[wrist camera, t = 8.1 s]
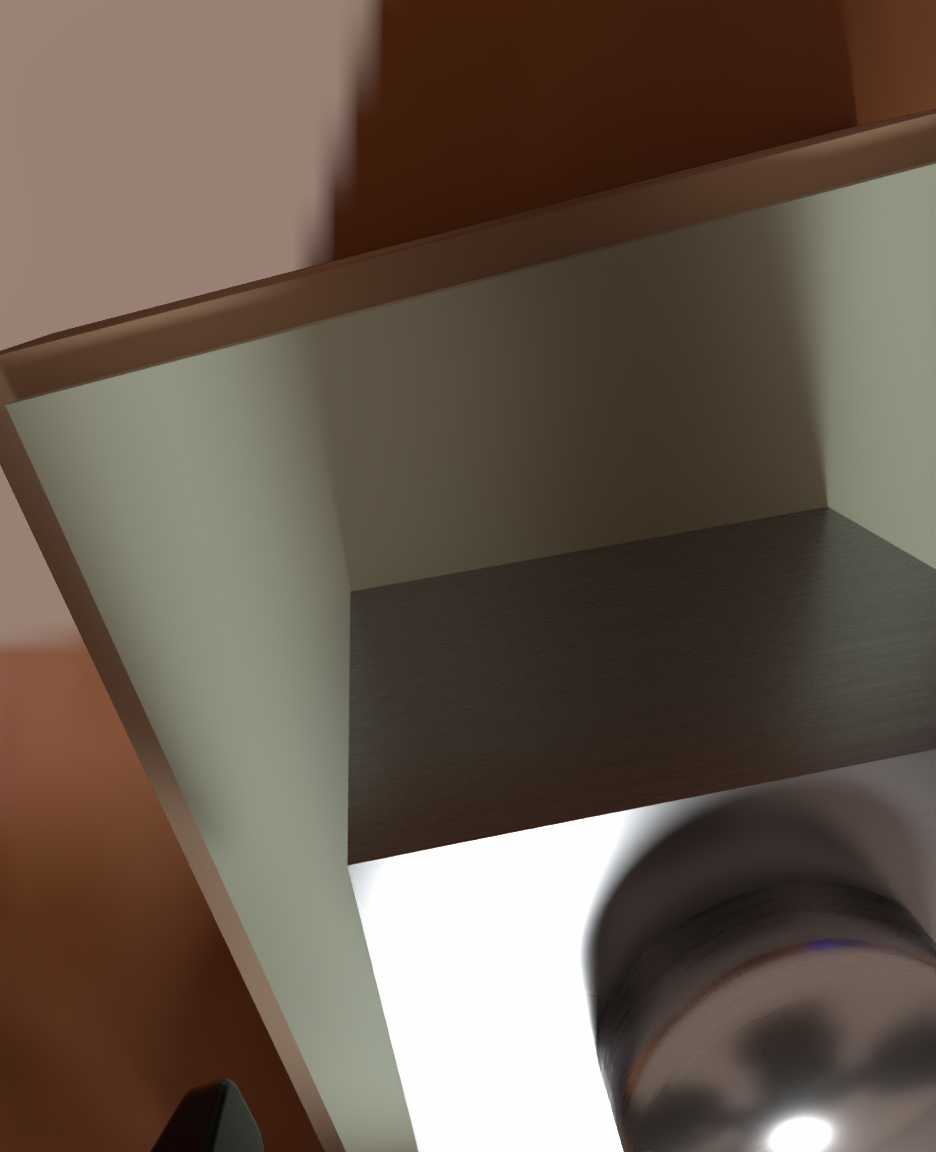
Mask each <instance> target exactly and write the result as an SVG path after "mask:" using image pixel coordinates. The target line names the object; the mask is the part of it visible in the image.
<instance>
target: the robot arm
mask: <svg viewBox="0 0 936 1152" xmlns="http://www.w3.org/2000/svg"><path fill="white" fill-rule="evenodd" d="M151 1152H264V1146H263V1141H262V1137H261V1133H260V1131H259V1128H258V1126H257V1124H256V1122H255V1120H254V1118H253V1116H252V1114H251V1112H250V1110H249V1108H248V1107H247V1105H246V1103H245V1101H244V1099H243V1097H242V1095H241V1093H240V1091H239V1089H238V1087H237V1086H236V1084H235V1083H234V1082H233V1081H231V1080H229V1079H223V1080H219V1081H216V1082H212V1083H208V1084H205V1085H201V1086H198V1087H195V1088H193V1089H191V1090H190V1091H189V1092H188V1093H187V1094H186V1095H185V1096H184V1097H183V1099H182V1100H181V1102H180V1103H179V1105H178V1107H177V1108H176V1110H175V1112H174V1113H173V1115H172V1117H171V1118H170V1120H169V1122H168V1123H167V1125H166V1127H165V1128H164V1130H163V1132H162V1133H161V1135H160V1137H159V1138H158V1140H157V1142H156V1143H155V1145H154V1147H153V1148H152V1150H151Z"/></svg>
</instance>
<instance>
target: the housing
mask: <svg viewBox="0 0 936 1152" xmlns="http://www.w3.org/2000/svg"><path fill="white" fill-rule="evenodd" d="M347 866H348V870H349V874H350V878H351V882H352V886H353V890H354V894H355V898H356V902H357V906H358V910H359V914H360V918H361V922H362V926H363V930H364V934H365V938H366V942H367V946H368V950H369V954H370V958H371V962H372V966H373V970H374V974H375V978H376V982H377V987H378V991H379V995H380V999H381V1003H382V1007H383V1011H384V1015H385V1019H386V1023H387V1027H388V1031H389V1035H390V1039H391V1043H392V1047H393V1051H394V1055H395V1059H396V1063H397V1067H398V1071H399V1075H400V1079H401V1083H402V1087H403V1091H404V1095H405V1099H406V1103H407V1107H408V1111H409V1115H410V1119H411V1123H412V1127H413V1131H414V1135H415V1139H416V1143H417V1147H418V1151H419V1152H936V569H934V568H933V567H931V566H929V565H928V564H926V563H924V562H922V561H921V560H919V559H917V558H916V557H914V556H912V555H910V554H909V553H907V552H905V551H904V550H902V549H900V548H898V547H897V546H895V545H893V544H891V543H890V542H888V541H886V540H885V539H883V538H881V537H879V536H878V535H876V534H874V533H873V532H871V531H869V530H867V529H866V528H864V527H862V526H861V525H859V524H857V523H855V522H854V521H852V520H850V519H848V518H847V517H845V516H843V515H842V514H840V513H838V512H836V511H835V510H833V509H831V508H830V507H823V508H817V509H812V510H806V511H800V512H795V513H789V514H783V515H778V516H772V517H767V518H761V519H755V520H750V521H744V522H739V523H733V524H727V525H722V526H716V527H710V528H705V529H699V530H694V531H688V532H682V533H677V534H671V535H666V536H660V537H654V538H649V539H643V540H637V541H632V542H626V543H621V544H615V545H609V546H604V547H598V548H593V549H587V550H581V551H576V552H570V553H564V554H559V555H553V556H548V557H542V558H536V559H531V560H525V561H520V562H514V563H508V564H503V565H497V566H491V567H486V568H480V569H475V570H469V571H463V572H458V573H452V574H447V575H441V576H435V577H430V578H424V579H418V580H413V581H407V582H402V583H396V584H390V585H385V586H379V587H374V588H368V589H362V590H357V591H351V592H350V670H349V763H348V856H347Z"/></svg>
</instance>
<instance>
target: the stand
mask: <svg viewBox="0 0 936 1152" xmlns="http://www.w3.org/2000/svg"><path fill="white" fill-rule="evenodd" d="M0 465H1V467H2V469H3V471H4V473H5V475H6V477H7V480H8V482H9V484H10V486H11V488H12V490H13V493H14V494H15V497H16V499H17V501H18V503H19V505H20V507H21V509H22V511H23V514H24V516H25V518H26V520H27V522H28V524H29V526H30V529H31V531H32V533H33V535H34V537H35V539H36V541H37V543H38V545H39V547H40V550H41V552H42V554H43V556H44V558H45V560H46V562H47V565H48V566H49V569H50V571H51V573H52V575H53V577H54V579H55V581H56V584H57V585H58V588H59V590H60V592H61V594H62V596H63V598H64V600H65V603H66V605H67V607H68V609H69V611H70V613H71V615H72V617H73V620H74V622H75V624H76V626H77V628H78V630H79V632H80V634H81V637H82V639H83V641H84V643H85V645H86V647H87V649H88V651H89V654H90V656H91V658H92V660H93V662H94V664H95V666H96V668H97V670H98V673H99V675H100V677H101V679H102V681H103V683H104V685H105V687H106V690H107V692H108V694H109V696H110V698H111V700H112V702H113V704H114V706H115V709H116V711H117V713H118V715H119V717H120V719H121V721H122V723H123V726H124V728H125V730H126V732H127V734H128V736H129V738H130V740H131V742H132V745H133V747H134V749H135V751H136V753H137V755H138V757H139V759H140V762H141V764H142V766H143V768H144V770H145V772H146V774H147V776H148V778H149V781H150V783H151V785H152V787H153V789H154V791H155V793H156V795H157V798H158V800H159V802H160V804H161V806H162V808H163V810H164V812H165V815H166V817H167V819H168V821H169V823H170V825H171V827H172V829H173V831H174V834H175V836H176V838H177V840H178V842H179V844H180V846H181V848H182V851H183V853H184V855H185V857H186V859H187V861H188V863H189V865H190V867H191V870H192V872H193V874H194V876H195V878H196V880H197V882H198V884H199V887H200V889H201V891H202V893H203V895H204V897H205V899H206V901H207V903H208V906H209V908H210V910H211V912H212V914H213V916H214V918H215V920H216V923H217V925H218V927H219V929H220V931H221V933H222V935H223V937H224V939H225V942H226V944H227V946H228V948H229V950H230V952H231V954H232V956H233V959H234V961H235V963H236V965H237V967H238V969H239V971H240V973H241V975H242V978H243V980H244V982H245V984H246V986H247V988H248V990H249V992H250V995H251V997H252V999H253V1001H254V1003H255V1005H256V1007H257V1009H258V1012H259V1014H260V1016H261V1018H262V1020H263V1022H264V1024H265V1026H266V1028H267V1031H268V1033H269V1035H270V1037H271V1039H272V1041H273V1043H274V1045H275V1048H276V1050H277V1052H278V1054H279V1056H280V1058H281V1060H282V1062H283V1064H284V1067H285V1069H286V1071H287V1073H288V1075H289V1077H290V1079H291V1081H292V1084H293V1086H294V1088H295V1090H296V1092H297V1094H298V1096H299V1098H300V1100H301V1103H302V1105H303V1107H304V1109H305V1111H306V1113H307V1115H308V1117H309V1120H310V1122H311V1124H312V1126H313V1128H314V1130H315V1132H316V1134H317V1136H318V1139H319V1141H320V1143H321V1145H322V1147H323V1149H324V1151H325V1152H419V1151H418V1147H417V1143H416V1139H415V1135H414V1131H413V1127H412V1123H411V1119H410V1115H409V1111H408V1107H407V1103H406V1099H405V1095H404V1091H403V1087H402V1083H401V1079H400V1075H399V1071H398V1067H397V1063H396V1059H395V1055H394V1051H393V1047H392V1043H391V1039H390V1035H389V1031H388V1027H387V1023H386V1019H385V1015H384V1011H383V1007H382V1003H381V999H380V995H379V991H378V987H377V982H376V978H375V974H374V970H373V966H372V962H371V958H370V954H369V950H368V946H367V942H366V938H365V934H364V930H363V926H362V922H361V918H360V914H359V910H358V906H357V902H356V898H355V894H354V890H353V886H352V882H351V878H350V874H349V870H348V866H347V856H348V763H349V670H350V592H351V591H357V590H362V589H368V588H374V587H379V586H385V585H390V584H396V583H402V582H407V581H413V580H418V579H424V578H430V577H435V576H441V575H447V574H452V573H458V572H463V571H469V570H475V569H480V568H486V567H491V566H497V565H503V564H508V563H514V562H520V561H525V560H531V559H536V558H542V557H548V556H553V555H559V554H564V553H570V552H576V551H581V550H587V549H593V548H598V547H604V546H609V545H615V544H621V543H626V542H632V541H637V540H643V539H649V538H654V537H660V536H666V535H671V534H677V533H682V532H688V531H694V530H699V529H705V528H710V527H716V526H722V525H727V524H733V523H739V522H744V521H750V520H755V519H761V518H767V517H772V516H778V515H783V514H789V513H795V512H800V511H806V510H812V509H817V508H823V507H830V508H831V509H833V510H835V511H836V512H838V513H840V514H842V515H843V516H845V517H847V518H848V519H850V520H852V521H854V522H855V523H857V524H859V525H861V526H862V527H864V528H866V529H867V530H869V531H871V532H873V533H874V534H876V535H878V536H879V537H881V538H883V539H885V540H886V541H888V542H890V543H891V544H893V545H895V546H897V547H898V548H900V549H902V550H904V551H905V552H907V553H909V554H910V555H912V556H914V557H916V558H917V559H919V560H921V561H922V562H924V563H926V564H928V565H929V566H931V567H933V568H934V569H936V109H934V110H929V111H925V112H920V113H915V114H910V115H906V116H901V117H896V118H891V119H886V120H882V121H877V122H872V123H867V124H863V125H858V126H854V127H851V128H847V129H843V130H839V131H835V132H831V133H827V134H823V135H820V136H816V137H812V138H808V139H804V140H800V141H796V142H792V143H789V144H785V145H781V146H777V147H773V148H769V149H765V150H761V151H758V152H754V153H750V154H746V155H742V156H738V157H734V158H730V159H727V160H723V161H719V162H715V163H711V164H707V165H703V166H699V167H696V168H692V169H688V170H684V171H680V172H676V173H672V174H668V175H665V176H661V177H657V178H653V179H649V180H645V181H641V182H637V183H633V184H630V185H626V186H622V187H618V188H614V189H610V190H606V191H602V192H599V193H595V194H591V195H587V196H583V197H579V198H575V199H571V200H568V201H564V202H560V203H556V204H552V205H548V206H544V207H540V208H537V209H533V210H529V211H525V212H521V213H517V214H513V215H509V216H506V217H502V218H498V219H494V220H490V221H486V222H482V223H478V224H475V225H471V226H467V227H463V228H459V229H455V230H451V231H447V232H444V233H440V234H436V235H432V236H428V237H424V238H420V239H416V240H413V241H409V242H405V243H401V244H397V245H393V246H389V247H385V248H382V249H378V250H374V251H370V252H366V253H362V254H358V255H354V256H351V257H347V258H343V259H339V260H335V261H331V262H327V263H323V264H320V265H316V266H312V267H308V268H304V269H300V270H296V271H292V272H289V273H285V274H281V275H277V276H273V277H270V278H266V279H261V280H258V281H254V282H250V283H246V284H242V285H238V286H234V287H230V288H227V289H223V290H219V291H215V292H211V293H207V294H203V295H200V296H196V297H192V298H188V299H184V300H180V301H176V302H173V303H169V304H165V305H161V306H157V307H153V308H149V309H146V310H142V311H137V312H134V313H130V314H126V315H122V316H118V317H114V318H110V319H106V320H102V321H99V322H95V323H91V324H87V325H83V326H79V327H75V328H71V329H68V330H64V331H60V332H56V333H52V334H50V335H47V336H44V337H41V338H38V339H35V340H32V341H29V342H26V343H23V344H20V345H17V346H14V347H11V348H8V349H5V350H2V351H0Z"/></svg>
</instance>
